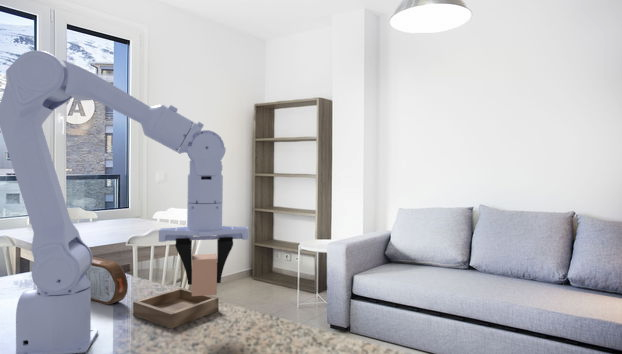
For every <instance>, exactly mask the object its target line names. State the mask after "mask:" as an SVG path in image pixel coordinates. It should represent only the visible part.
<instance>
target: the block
mask: <svg viewBox="0 0 622 354" xmlns="http://www.w3.org/2000/svg"><path fill="white" fill-rule="evenodd" d="M191 262H192V285H191V291H192V296H206V295H210V296H217V292H218V287H217V286H218V283H217V253H205V254H204V253H203V254H200V253H199V254H192V256H191Z"/></svg>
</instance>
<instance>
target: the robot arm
mask: <svg viewBox="0 0 622 354" xmlns="http://www.w3.org/2000/svg"><path fill="white" fill-rule="evenodd" d="M62 62H63V63H64V64H63V63H61V60H59V59H58V58H57V57H56V56H55V55H54V54H51V53H50V52H47V51H44V50H39V49H38V50H30V51H26V52H24V53H22V54H21V55H20V56H19V57H17V59H15V60H14V62H13V63H12V64H10V65H9V66H8V68H7V69H6V70H5V79H6V83H5V87H4V89H3V93H2V96H1V100H0V131H1V134H2V138H3V139H4V140H3V141H4V143H5V147H6V149H7V153H8V156H9V159H10V163H11V166H12V168H13V172H14V175H15V179H16V181H17V185H18V187H19V191H20V194H21V197H22V201H23V204H24V206H25V210H26V213H27V216H28V219H29V222H30V226H31V229H32V231H33V236H32V240H31V241H32V243H31V249H30V251H31V254H32V257H33V265H32V268H31V278H32V281H33V283H34V285H35V286H36V288H35V289H28V290H24V291H23V292H22V293H21V294H20V296H19V298H18V301H17V304H16V310H15V311H16V312H15V354H82V353H83V354H84V353H86V352H87V351H88V350H89V348H90V346H91V345H92V343H93V342H94V340H95V338H96V337H97V335H98V333H99V330H98V329H97V328H96V329H92V323H91V322H92V321H91V320H92V317H91V314H92V313H91V309H92V308H91V303H92V300H91V286H90V285H91V282H90V280H89V279H88V278H87V276H86V274H85V273H86V271H87V270H88V269H89V268H90V266H91V264H92V259H93V257H94V256H93V253H92V250H91V248H90V247H89V246H88V245H87V244H86V243H85V242H84V241H83V240H82V238H81V236H80V232H79V230H78V229H77V227H76V226H75V225H74V223H73V222H72V220H71V217H70V214H69V211H68V208H67V204H66V201H65V198H64V194H63V190H62V187H61V183H60V181H59V178H58V175H57V171H56V168H55V165H54V161H53V159H52V155H51V151H50V148H49V145H48V142H47V138H46V135H45V133H44V128H43V124H44V122H45V121H46V120H47V119H48V118H49V116H50V115H51V114H52V113H53V111H54V110H55V109H57V108H60V107H61V106H63V105H64V104H66V103H67V102H69V101H70V100H72V99H75V100H76V101H80V102H81V101H83V102H84V101H96V102H98V103H100V104H102V105H104V106H105V107H108V109H111V110H113V111H115V112H116V113H117V112H118V113H119V114H122V115H123V116H125V117H127V118H129V119H132V120H133V121H134V122H137V123H139V124H140V125H141V128H142V132H143V135H144V136H145V137H148V138H149V139H151V140H153V141H155V142H157V143H159V144H161V145H163V146H165V147H166V148H168V149H169V150H172V151H174V152H175V153H178V154H179V155H180V154H184V153H185V154H186V153H187V155H188V158H189V159H190V160H189V173H188V175H187V201H186V202H187V205H186V206H187V212H186V215H187V219H186V223H187V224H186V225H187V226H180V227H179V226H178V227H167V228H166V227H165V228H159V229H158V242H159V243H161V242H163V243H164V242H170V241H171V242H172V241H173V242H174V241H175V249H176V251H177V253H178V255H179V257H180V259H181V262H182V265H183V267H184V271H185V275H186V280H187V285H189V286H190V285H191V286H192V255H193V254H192V253H193V252H192V251H193V250H192V246H193V241H204V240H205V241H207V240H208V241H209V240H211V241H212V240H217V241H216V243H217V246H216V247H217V248H216V251H217V252H216V255H217V284H221V281H222V274H223V271H224V267H225V264H226V261H227V259H228V257H229V255H230V253H231V251H232V248H233V246H234V240H242V241H243V240H244V241H245V240H249V227H248V226H232V225H231V226H230V225H229V226H227V225H226V226H225V225H223V191H224V189H223V185H224V184H223V183H224V176H223V174H222V171H223V164H222V160H223V158H224V156H225V154H226V151H227V148H226V147H225V143H224V141H223V139H222V137H221V136H220V134H218V133H217V132H214V131H212V130H204V129H203V128H204V127H205V126H204V123H202V122H201V121H198V122H197V123H196V122H195V121H193V120H191V119H189V118H188V117H185V116H184V115H182V114H180V113H179V112H178V108H177V107H175V106H174V105H172V104H170V105H169V107H167V106H166V105H165V104H158V105H154V106H150V105H148V104H146V103H144V102H142V101H141V100H139V99H137V98H136V97H134V96H132V95H130V94H129V93H127V92H126V91H124V90H122V89H121V88H119V87H117V86H116V85H113V84H112V83H110V82H109V81H108V80H105V79H103V78H102V77H100V76H98V75H97V74H95V73H93V72H91V71H89V70H87V69H85V68H83V67H81V66H80V65H79V66H78V65H76V64H74V63H72V62H69V61H67V60H64V59H62Z"/></svg>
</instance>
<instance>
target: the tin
mask: <svg viewBox="0 0 622 354" xmlns="http://www.w3.org/2000/svg"><path fill="white" fill-rule="evenodd" d="M92 257H93V259H92V264H91V266H90V268H89V269H88V270H87V271H86V273H85V274H86V276H87V278H88V279H89V280H90V282H91V285H90V286H91V301H94V302H97V303H100V304H104V305H113V304H115V303H117V302H121V301H123V300H124V299H125V297H127V293H128V289H129V288H128V287H129V286H128V285H129V284H128V277H127V274H126V272H125V271H124V269H123V267H122V266H121V265H120V264H119V263H118V262H116V261H113V260H110V259H109V260H108V259H104V258H99V257H95V256H92Z"/></svg>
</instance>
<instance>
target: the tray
mask: <svg viewBox="0 0 622 354" xmlns="http://www.w3.org/2000/svg"><path fill="white" fill-rule="evenodd" d="M219 303H220V301H219V297H216V296H214V295H206V296H192V289H191V290H190V289H187V288H183V287H179V288H175V289H173V290H169V291H166V292H165V291H164V292H163V293H158V294H155V295H151V296H148V297H145V298H142V299H137V300H135V301H133V302H132V315H133V316H134V317H137V318H141V319H143V320H146V321H147V322H151V323H154V324H156V325H161V326H162V327H165V328H168V329H170V330H172V329H174V328H177V327H179V326H180V327H181V326H182V325H186V324H187V323H190V322H193V321H196V320H198V319H201V318H203V317H205V316H209V315H211V314H214V313H216V312H219Z"/></svg>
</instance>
